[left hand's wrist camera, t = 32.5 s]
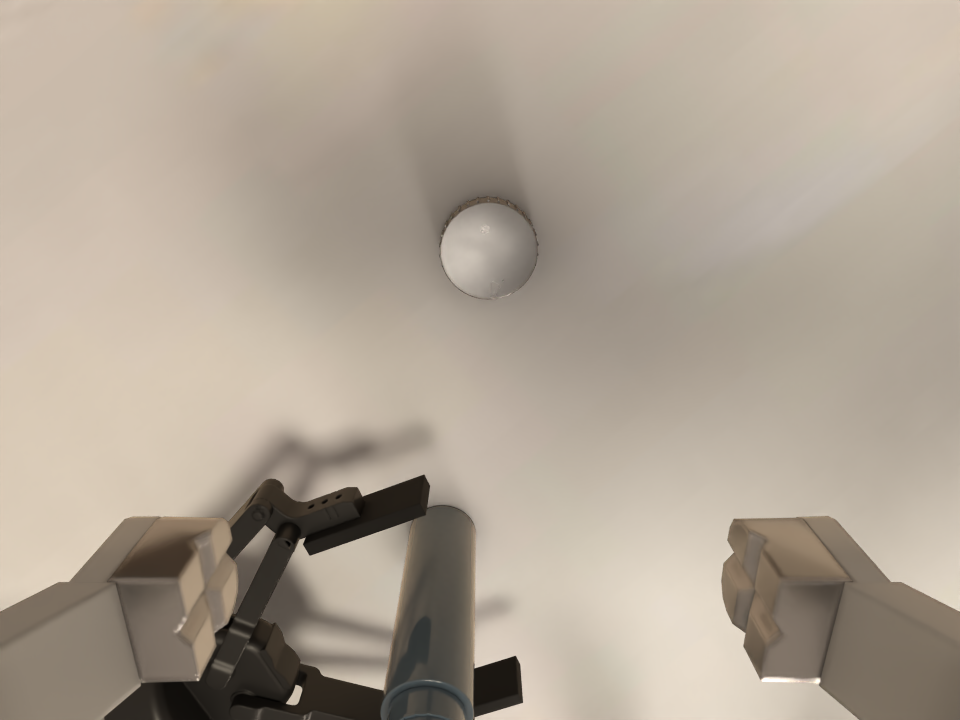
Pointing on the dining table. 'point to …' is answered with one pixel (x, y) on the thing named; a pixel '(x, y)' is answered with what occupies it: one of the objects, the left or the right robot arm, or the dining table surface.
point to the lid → (488, 248)
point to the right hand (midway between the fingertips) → (476, 591)
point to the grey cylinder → (434, 622)
